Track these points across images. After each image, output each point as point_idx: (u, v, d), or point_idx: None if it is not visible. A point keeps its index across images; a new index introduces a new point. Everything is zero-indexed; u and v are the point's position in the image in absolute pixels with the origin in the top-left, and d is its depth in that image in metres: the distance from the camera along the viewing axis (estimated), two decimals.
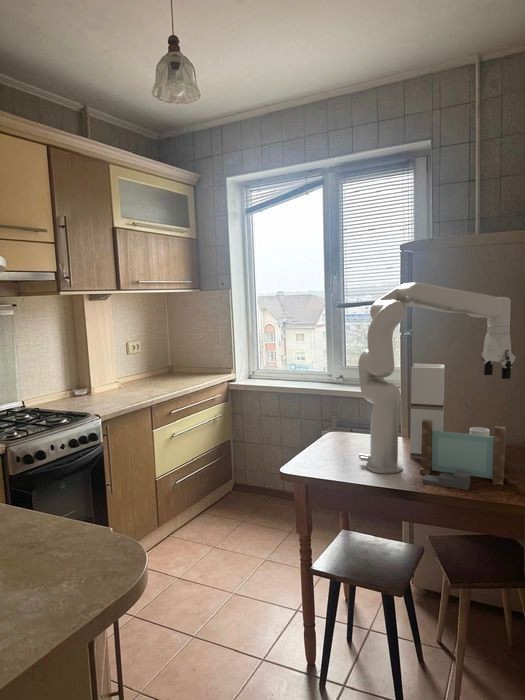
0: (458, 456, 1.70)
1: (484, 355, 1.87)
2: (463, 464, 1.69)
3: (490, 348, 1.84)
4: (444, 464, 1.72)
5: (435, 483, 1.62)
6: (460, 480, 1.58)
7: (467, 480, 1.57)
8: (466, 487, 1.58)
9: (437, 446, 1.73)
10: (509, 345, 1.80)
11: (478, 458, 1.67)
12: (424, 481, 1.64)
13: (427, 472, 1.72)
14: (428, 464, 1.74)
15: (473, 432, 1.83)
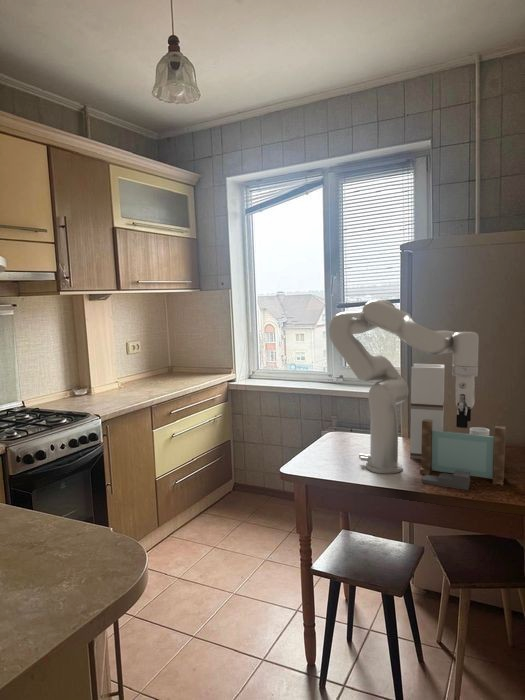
0: (458, 456, 1.70)
1: (472, 403, 1.54)
2: (463, 464, 1.69)
3: None
4: (444, 464, 1.72)
5: (435, 483, 1.62)
6: (460, 480, 1.58)
7: (467, 480, 1.57)
8: (466, 487, 1.57)
9: (437, 446, 1.73)
10: None
11: (478, 458, 1.67)
12: (424, 481, 1.64)
13: (427, 472, 1.72)
14: (428, 464, 1.74)
15: (473, 432, 1.83)
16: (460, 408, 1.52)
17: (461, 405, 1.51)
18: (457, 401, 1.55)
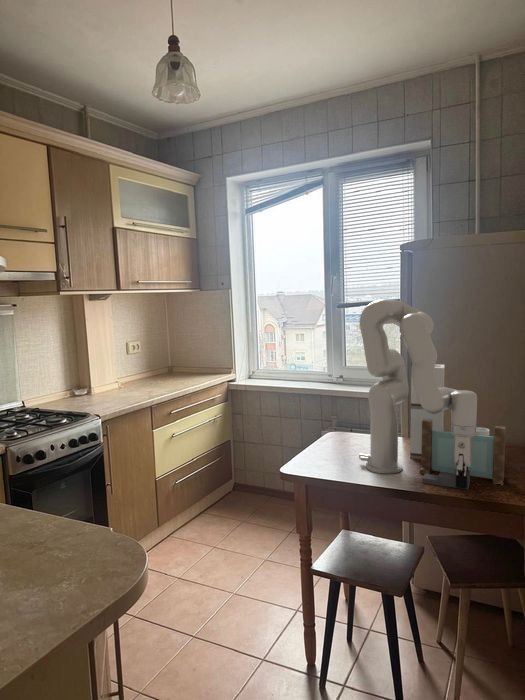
0: None
1: (470, 462, 1.55)
2: None
3: (472, 450, 1.58)
4: (444, 464, 1.72)
5: (435, 482, 1.62)
6: None
7: (467, 479, 1.58)
8: None
9: (437, 446, 1.73)
10: None
11: (478, 458, 1.67)
12: (424, 480, 1.64)
13: (427, 472, 1.72)
14: (428, 464, 1.74)
15: None
16: (459, 471, 1.55)
17: (460, 470, 1.54)
18: (456, 463, 1.57)
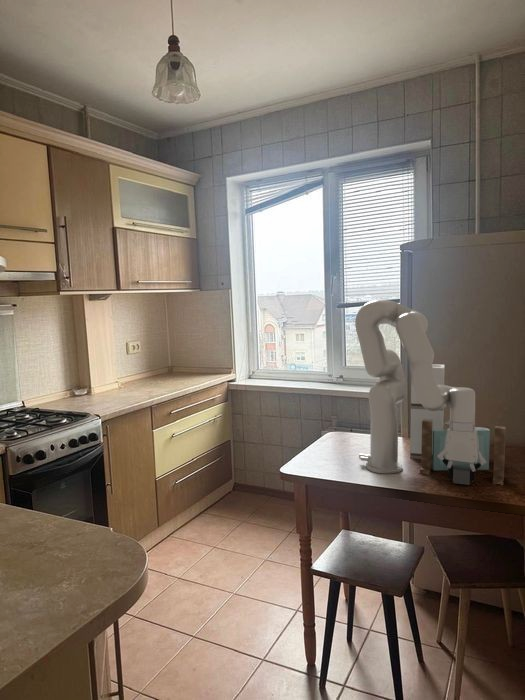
0: None
1: (448, 455, 1.61)
2: None
3: (459, 447, 1.59)
4: None
5: None
6: None
7: (453, 472, 1.62)
8: (453, 479, 1.62)
9: (439, 445, 1.74)
10: (478, 442, 1.60)
11: None
12: None
13: (427, 472, 1.72)
14: (428, 464, 1.74)
15: None
16: None
17: None
18: None
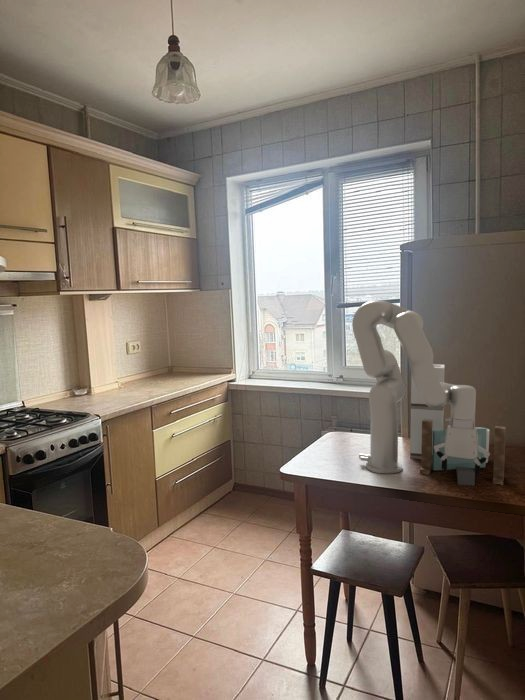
0: None
1: (448, 451, 1.64)
2: None
3: (459, 444, 1.62)
4: None
5: (456, 472, 1.72)
6: None
7: (458, 474, 1.62)
8: (458, 480, 1.63)
9: None
10: None
11: None
12: (456, 468, 1.75)
13: (427, 472, 1.72)
14: (428, 464, 1.74)
15: None
16: None
17: None
18: None
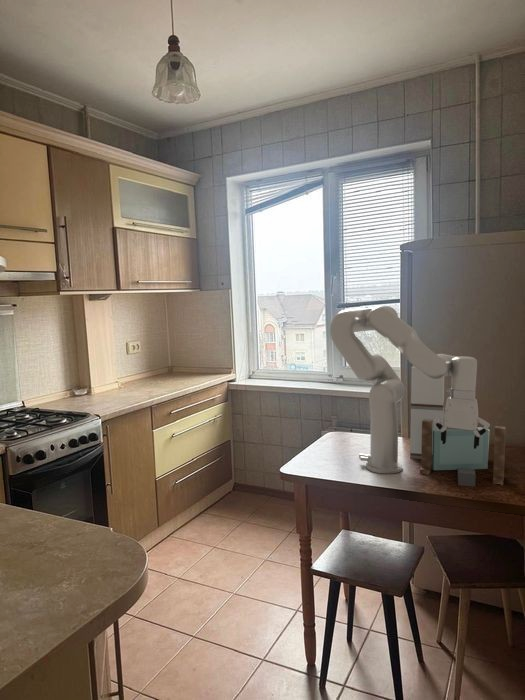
0: (458, 452, 1.74)
1: (447, 422, 1.63)
2: (462, 459, 1.74)
3: (459, 415, 1.61)
4: (445, 462, 1.74)
5: (457, 473, 1.71)
6: (458, 474, 1.64)
7: (458, 475, 1.62)
8: (458, 482, 1.62)
9: (439, 445, 1.74)
10: None
11: (476, 451, 1.74)
12: (457, 470, 1.74)
13: (427, 472, 1.72)
14: (428, 464, 1.74)
15: None
16: None
17: None
18: None
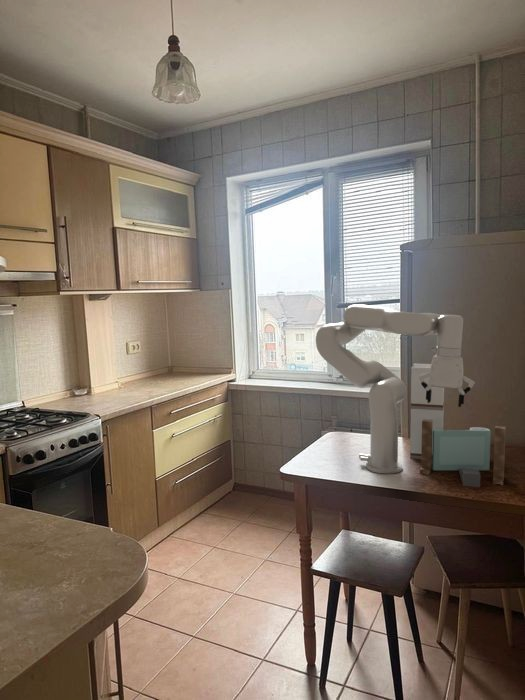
0: (458, 453, 1.73)
1: (432, 381, 1.63)
2: (463, 460, 1.74)
3: (444, 373, 1.61)
4: (445, 463, 1.74)
5: None
6: (462, 475, 1.63)
7: (463, 476, 1.61)
8: (463, 483, 1.61)
9: (439, 445, 1.74)
10: None
11: (477, 452, 1.73)
12: None
13: (427, 472, 1.72)
14: (428, 464, 1.74)
15: None
16: None
17: None
18: None
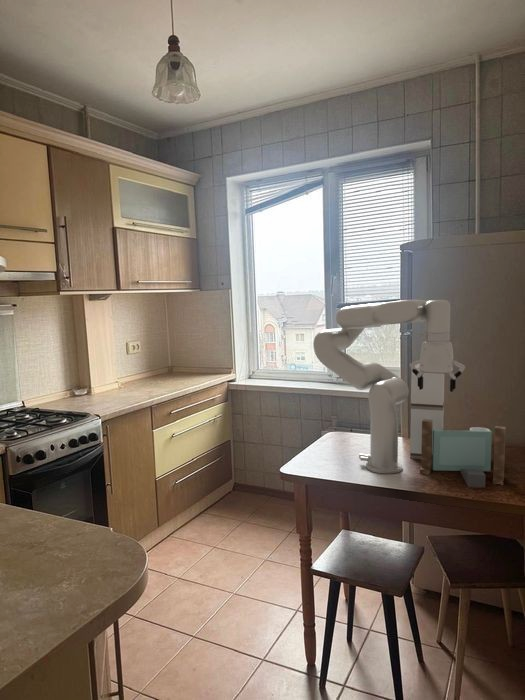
0: (459, 453, 1.73)
1: (423, 367, 1.63)
2: (464, 460, 1.73)
3: (434, 358, 1.61)
4: (445, 463, 1.74)
5: (462, 475, 1.70)
6: (467, 476, 1.62)
7: (468, 477, 1.60)
8: (468, 484, 1.61)
9: (439, 445, 1.73)
10: None
11: (477, 453, 1.72)
12: (460, 471, 1.73)
13: (427, 472, 1.72)
14: (428, 464, 1.74)
15: None
16: None
17: None
18: None
